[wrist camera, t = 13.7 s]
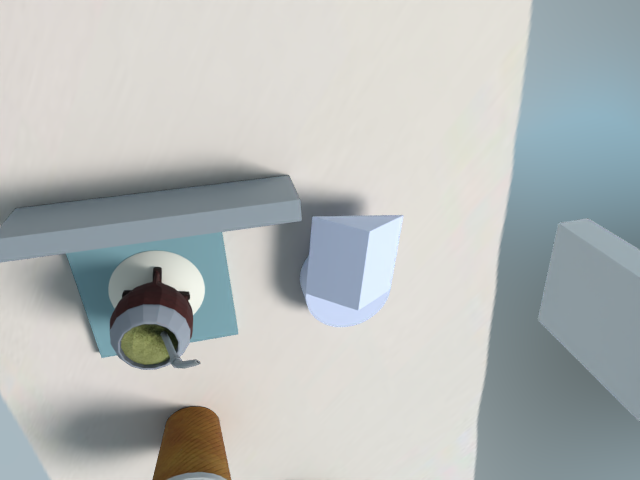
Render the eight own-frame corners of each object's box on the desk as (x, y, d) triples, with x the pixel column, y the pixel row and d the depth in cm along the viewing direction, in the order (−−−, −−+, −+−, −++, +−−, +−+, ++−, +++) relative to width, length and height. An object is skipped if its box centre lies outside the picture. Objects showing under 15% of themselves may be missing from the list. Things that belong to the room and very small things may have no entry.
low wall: (15, 208, 42) (-11, 240, 37) (289, 175, 46) (300, 199, 41) (23, 228, 43) (-2, 262, 38) (290, 194, 47) (301, 220, 42)
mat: (62, 234, 44) (60, 238, 43) (219, 213, 46) (219, 217, 45) (102, 352, 50) (101, 358, 50) (237, 329, 53) (238, 334, 52)
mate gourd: (119, 322, 48) (89, 447, 35) (118, 253, 45) (84, 363, 32) (196, 323, 50) (195, 441, 37) (200, 256, 47) (200, 361, 34)
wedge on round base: (305, 202, 48) (297, 310, 53) (320, 232, 42) (309, 350, 48) (391, 201, 50) (374, 306, 56) (416, 230, 44) (394, 344, 50)
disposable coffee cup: (148, 454, 59) (137, 556, 48) (153, 395, 55) (142, 492, 44) (227, 452, 61) (233, 547, 51) (238, 395, 57) (246, 486, 47)
